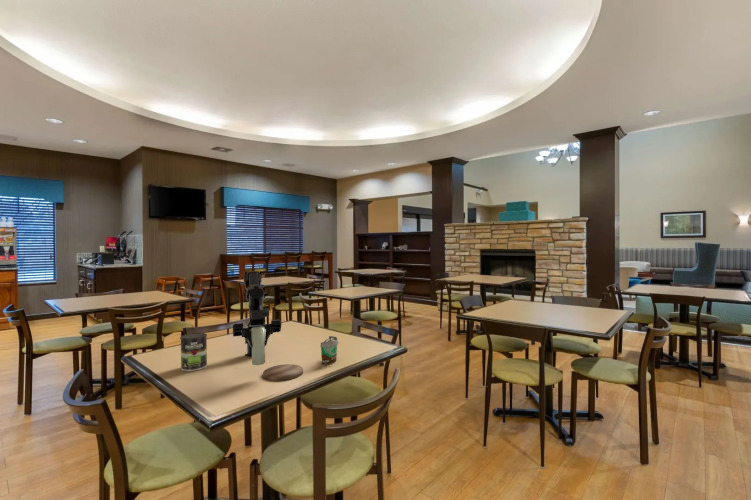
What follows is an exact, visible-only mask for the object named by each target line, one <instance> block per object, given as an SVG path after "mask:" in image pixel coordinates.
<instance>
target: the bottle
mask: <svg viewBox="0 0 751 500" xmlns="http://www.w3.org/2000/svg"><path fill="white" fill-rule="evenodd" d="M251 333H252V356H251V364H252V365H253V366H261V365H264V364H265V363H266V346H265V335H266V329H265V327H253V328H251Z"/></svg>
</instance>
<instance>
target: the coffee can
mask: <svg viewBox="0 0 751 500" xmlns="http://www.w3.org/2000/svg"><path fill="white" fill-rule="evenodd" d="M207 337H208V335H207V333H205V332H195V333H194V332H193V333H185V334H182V335H181V336H180V357H181V358H180V370H181V371H182V372H195V371H200V370H203V369H205V368H207V367H208V354H207V353H208V352H207V349H208V348H207V347H208V345H207V343H208V342H207Z"/></svg>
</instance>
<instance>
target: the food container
mask: <svg viewBox="0 0 751 500" xmlns="http://www.w3.org/2000/svg"><path fill="white" fill-rule="evenodd" d="M339 343H340V342H339V339H338V337H337V336H335V335H333V336H332V335H329V336H328V338H326V339H325V340H324V341H322V342H320V350H321V365H329V364H333V363H336V362H337V355H338V345H339Z"/></svg>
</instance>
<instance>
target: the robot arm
mask: <svg viewBox="0 0 751 500" xmlns="http://www.w3.org/2000/svg"><path fill="white" fill-rule="evenodd" d="M262 282H263V281H262V274H261V273H259V271H247V273H245V274H243V285H244V286H245V287H244V289H245V290H246V291H245V300H247V303H248V317H249V318H248V321H249V322H248V324H244V323H243V322H236V323H233V324H232V336H233V337H241V338H244V344H245V345H247V346H246V348H247V349H246V351H247V353H245V354H244V356H247V357H252V333H251V328H253V327H265V347H266V346H267V345H268V340H269V338H270V337H271V335H273V334H274V333H280V332H281V330H282V321H281V320H280V319H271V320H270V323H266V318H267V317H269V315H270V311H269V308H266V307H265V308H264V299H266V298H267V293H266V292H265V290H264V289H263V286H261V285H262ZM265 323H266V324H265Z"/></svg>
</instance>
